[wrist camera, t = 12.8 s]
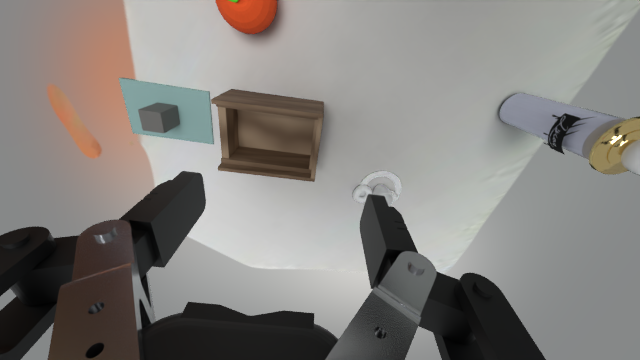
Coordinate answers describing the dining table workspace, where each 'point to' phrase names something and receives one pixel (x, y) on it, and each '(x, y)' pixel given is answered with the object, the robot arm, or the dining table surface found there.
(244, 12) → the clementine
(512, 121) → the perfume bottle
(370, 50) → the dining table surface
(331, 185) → the dining table surface
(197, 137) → the cover plate
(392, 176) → the teacup and saucer
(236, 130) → the box
